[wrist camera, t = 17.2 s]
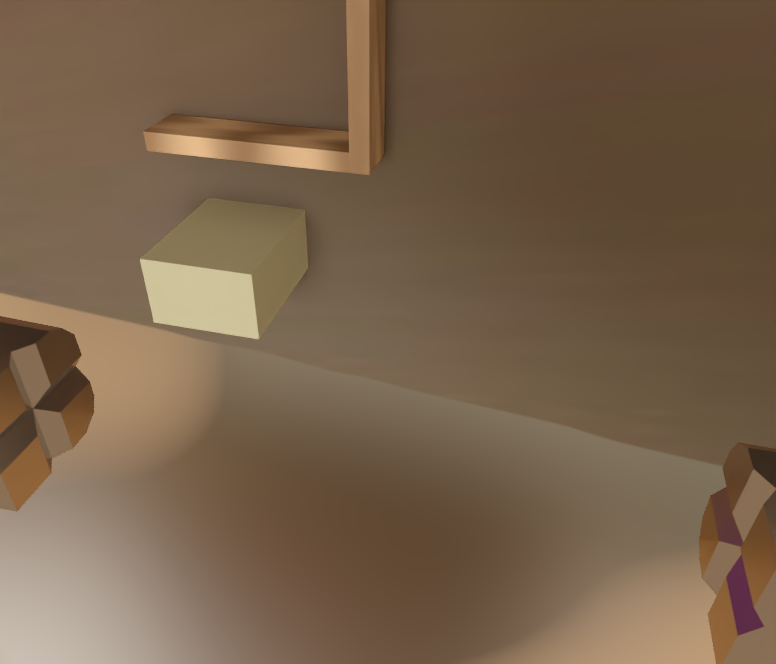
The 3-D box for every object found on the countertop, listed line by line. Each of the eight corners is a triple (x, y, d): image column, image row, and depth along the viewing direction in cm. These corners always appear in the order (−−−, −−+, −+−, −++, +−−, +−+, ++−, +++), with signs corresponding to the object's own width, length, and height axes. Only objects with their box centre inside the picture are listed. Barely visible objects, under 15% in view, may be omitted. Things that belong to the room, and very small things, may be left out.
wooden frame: (387, -129, 33) (369, -128, 30) (384, 153, 41) (369, 174, 39) (129, -134, 36) (90, -134, 33) (175, 132, 44) (147, 150, 41)
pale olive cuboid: (305, 209, 45) (251, 274, 38) (308, 267, 48) (259, 339, 41) (208, 197, 46) (139, 258, 39) (217, 255, 49) (153, 322, 42)
